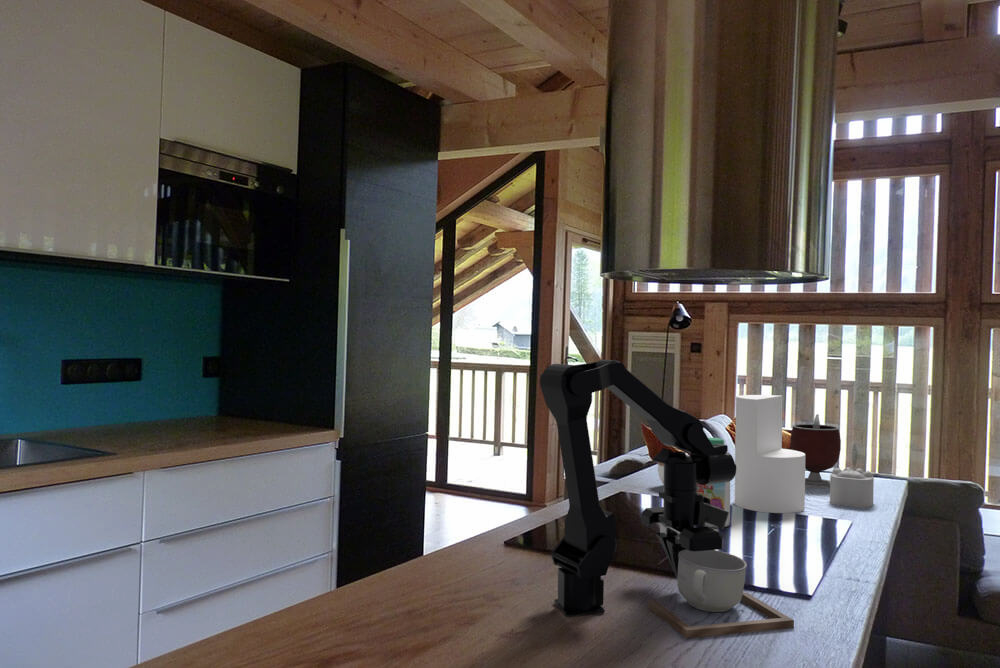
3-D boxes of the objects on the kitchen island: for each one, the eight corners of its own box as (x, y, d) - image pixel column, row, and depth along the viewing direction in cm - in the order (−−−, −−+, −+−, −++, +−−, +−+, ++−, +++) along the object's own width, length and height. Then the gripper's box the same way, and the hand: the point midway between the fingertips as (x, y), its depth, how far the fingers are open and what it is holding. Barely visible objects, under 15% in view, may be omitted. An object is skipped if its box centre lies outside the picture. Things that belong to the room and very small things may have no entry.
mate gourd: (839, 490, 223) (840, 420, 223) (787, 485, 229) (788, 417, 229) (841, 481, 237) (842, 415, 237) (792, 477, 243) (793, 412, 243)
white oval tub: (827, 503, 206) (828, 471, 206) (833, 495, 217) (834, 464, 217) (871, 508, 201) (871, 475, 201) (875, 499, 212) (875, 467, 212)
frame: (686, 638, 114) (686, 630, 114) (648, 608, 126) (648, 600, 126) (793, 627, 119) (794, 620, 119) (746, 599, 131) (747, 592, 131)
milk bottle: (706, 518, 187) (707, 435, 187) (736, 524, 182) (737, 438, 182) (689, 524, 182) (690, 438, 182) (718, 530, 177) (720, 441, 176)
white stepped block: (723, 505, 202) (724, 397, 202) (749, 495, 215) (751, 393, 215) (790, 516, 191) (792, 401, 191) (814, 504, 204) (815, 397, 204)
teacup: (695, 589, 135) (696, 543, 135) (756, 605, 128) (757, 556, 128) (654, 611, 125) (656, 561, 124) (718, 630, 118) (720, 577, 117)
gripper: (752, 496, 128) (751, 591, 129) (694, 474, 146) (693, 557, 147) (691, 500, 125) (690, 597, 126) (640, 477, 143) (639, 562, 144)
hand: (679, 577), depth 135 cm, fingers closed
